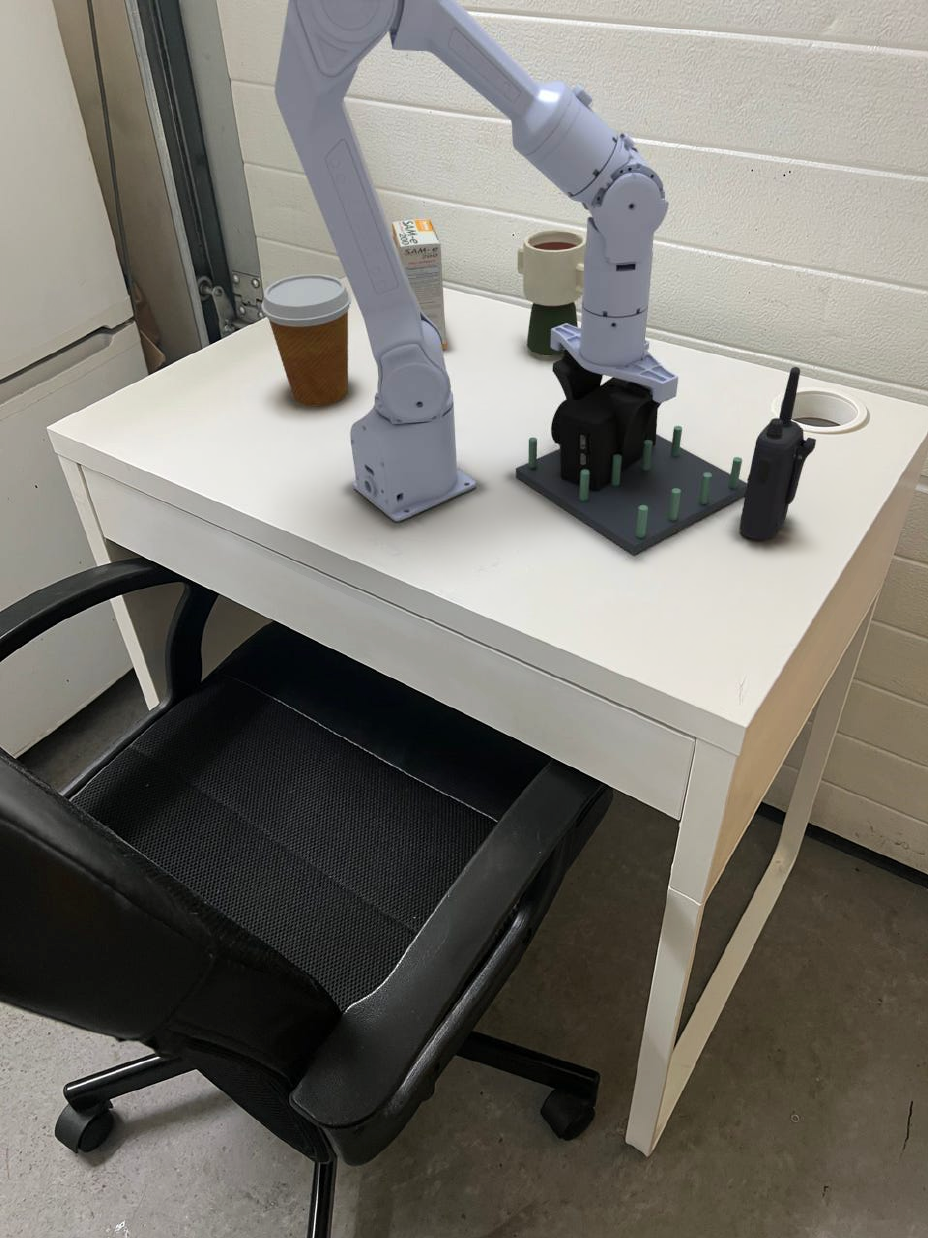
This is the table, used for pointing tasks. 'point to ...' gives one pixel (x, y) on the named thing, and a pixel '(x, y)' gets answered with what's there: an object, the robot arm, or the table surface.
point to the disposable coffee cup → (311, 335)
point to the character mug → (551, 283)
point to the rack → (639, 491)
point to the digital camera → (592, 435)
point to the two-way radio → (775, 469)
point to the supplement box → (422, 266)
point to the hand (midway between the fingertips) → (605, 440)
